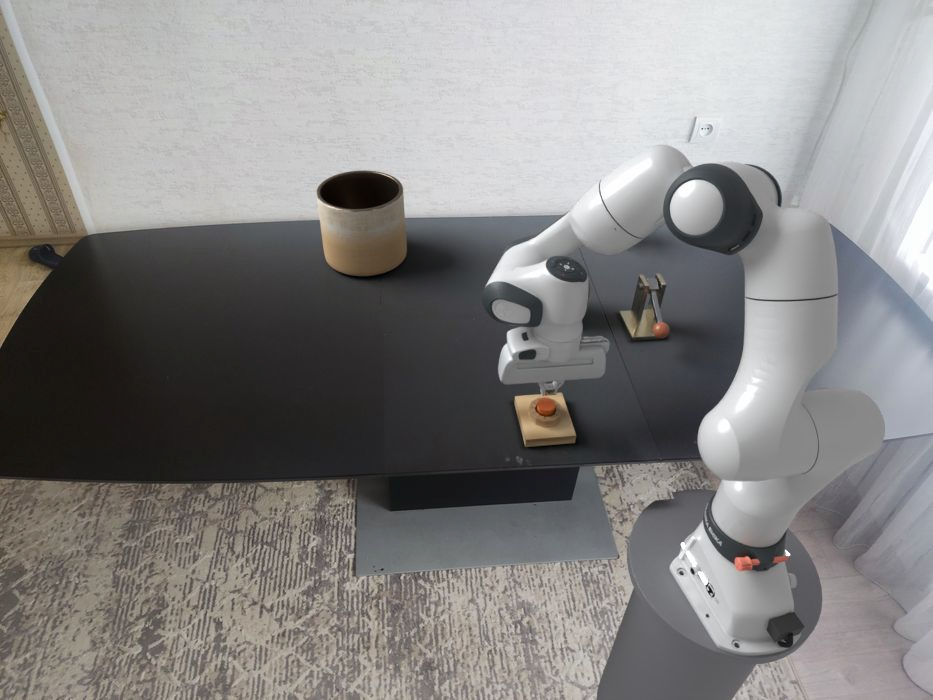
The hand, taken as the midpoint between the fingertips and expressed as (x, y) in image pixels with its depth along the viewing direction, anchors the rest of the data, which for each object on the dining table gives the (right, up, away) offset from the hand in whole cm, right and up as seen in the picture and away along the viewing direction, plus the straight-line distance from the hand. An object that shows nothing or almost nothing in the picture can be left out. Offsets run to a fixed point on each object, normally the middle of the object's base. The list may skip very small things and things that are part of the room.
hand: (548, 393), depth 129 cm
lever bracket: (+26, +14, +29) cm, 42 cm away
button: (0, -4, +3) cm, 5 cm away
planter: (-43, +34, +50) cm, 74 cm away
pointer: (+27, +17, +21) cm, 38 cm away
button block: (0, -6, +5) cm, 8 cm away
